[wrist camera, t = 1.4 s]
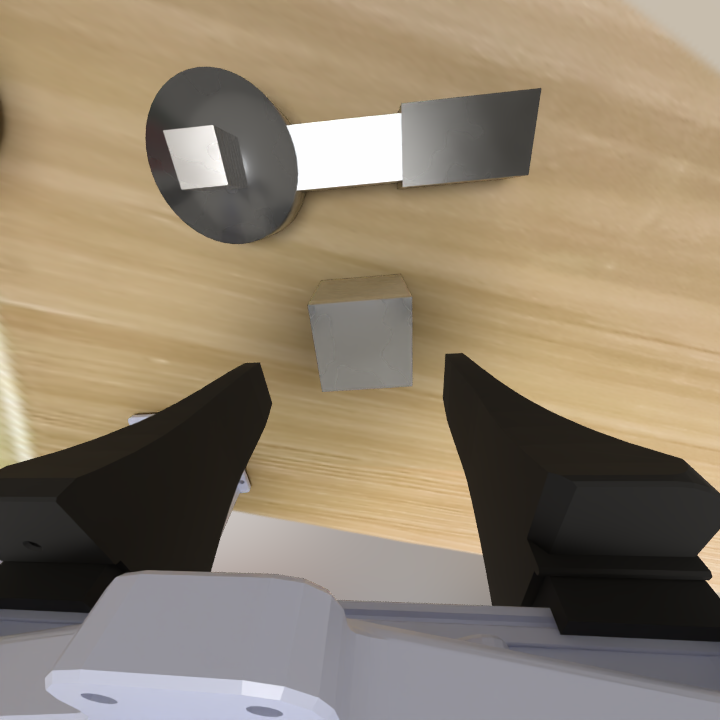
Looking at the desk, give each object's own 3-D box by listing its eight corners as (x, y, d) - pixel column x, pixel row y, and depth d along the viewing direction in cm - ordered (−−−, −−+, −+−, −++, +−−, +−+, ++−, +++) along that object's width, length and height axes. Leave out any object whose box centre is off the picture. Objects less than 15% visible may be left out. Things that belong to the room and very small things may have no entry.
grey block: (402, 346, 22) (412, 386, 17) (331, 351, 22) (322, 391, 17) (400, 274, 19) (412, 296, 15) (321, 280, 20) (307, 304, 15)
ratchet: (518, 56, 15) (595, -16, 10) (499, 216, 18) (550, 221, 13) (160, 98, 15) (67, 50, 11) (204, 242, 19) (148, 257, 14)
